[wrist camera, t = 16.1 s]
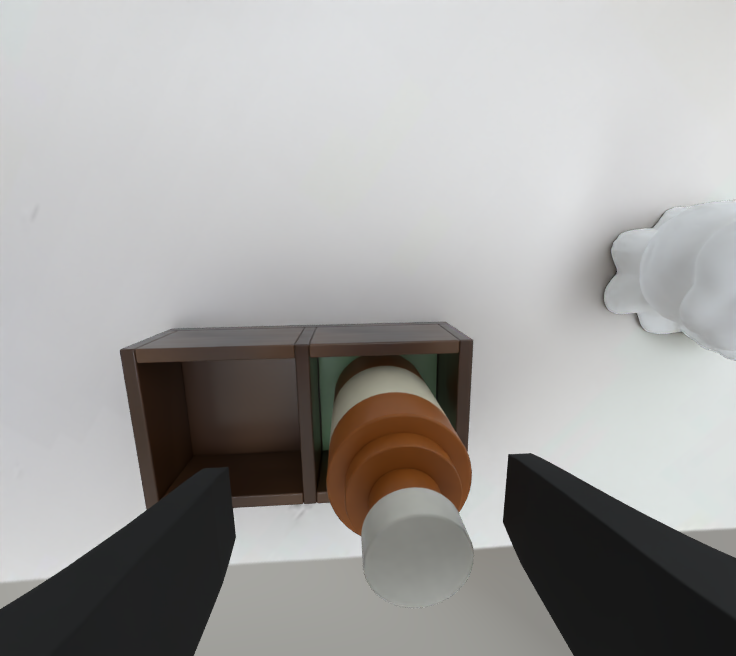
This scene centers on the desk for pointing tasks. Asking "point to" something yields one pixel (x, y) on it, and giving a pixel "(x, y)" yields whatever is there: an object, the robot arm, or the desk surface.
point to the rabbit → (681, 275)
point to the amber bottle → (399, 481)
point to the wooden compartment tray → (269, 400)
